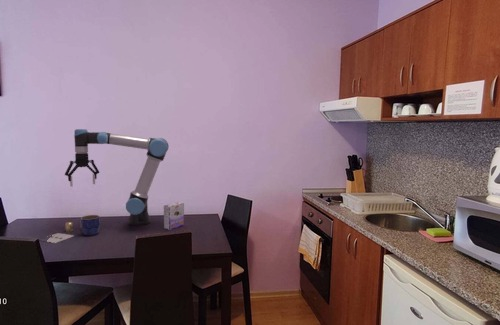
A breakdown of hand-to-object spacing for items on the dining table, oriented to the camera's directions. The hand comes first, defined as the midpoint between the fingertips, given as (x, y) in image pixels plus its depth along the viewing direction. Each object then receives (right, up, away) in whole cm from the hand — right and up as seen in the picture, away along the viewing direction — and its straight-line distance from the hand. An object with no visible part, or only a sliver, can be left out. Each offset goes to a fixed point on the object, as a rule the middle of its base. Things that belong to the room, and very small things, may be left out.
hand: (83, 185), depth 212 cm
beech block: (-4, -30, +10) cm, 32 cm away
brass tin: (-9, -31, +1) cm, 32 cm away
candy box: (+57, -30, +13) cm, 66 cm away
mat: (-10, -32, -13) cm, 36 cm away
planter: (+7, -32, -4) cm, 32 cm away
